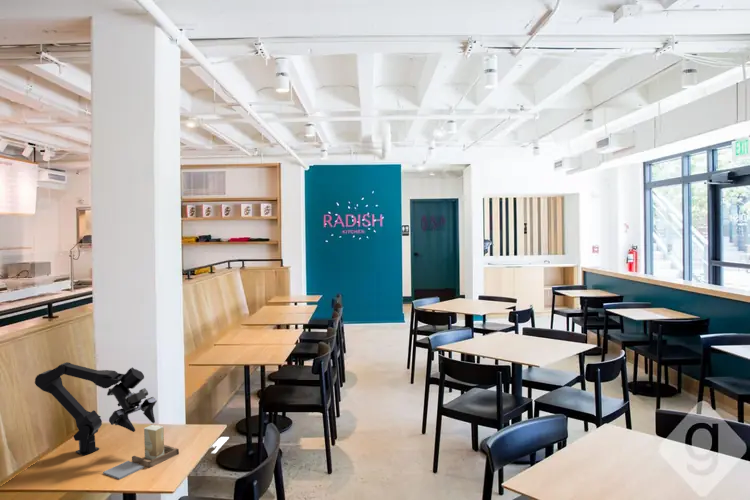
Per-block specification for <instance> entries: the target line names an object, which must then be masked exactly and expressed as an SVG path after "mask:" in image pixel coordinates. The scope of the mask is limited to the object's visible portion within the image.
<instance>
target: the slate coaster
mask: <svg viewBox="0 0 750 500" xmlns="http://www.w3.org/2000/svg"><path fill="white" fill-rule="evenodd" d="M144 468H145V466H143V465H140V464H137V463H134V462H132V461H131V460H126V461H124V462H123V463H122V462H121V463H120V464H117V465H115V466H113V467H110V468H108V469H106V470H104V471H103V472H102V474H103V475H106V476H108V477H111V478H114V479H116V480H121V479H123V478H126V477H128V476H129V475H132V474H134V473H137V472H139V471H140V470H142V469H144Z"/></svg>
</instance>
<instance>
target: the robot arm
mask: <svg viewBox="0 0 750 500" xmlns="http://www.w3.org/2000/svg"><path fill="white" fill-rule="evenodd" d="M63 375H64V376H65V375H66V376H69V377H74V378H77V379H81V380H85V381H89V382H92V383H93V384H94V385H95V386H96V387H99V388H101V389H107V390H108V391H107V393H106V396H107V397H108V396H113V397H114V398H115V399H116V401H117V406H118V407H121V408H119V409H117V410H114V411H113V412H112V414H111V415H110V417H109V419H108V421H109V423H110V425H112V426H113V425H115V426H119V427H122V428H125V429H127V430H128V431H131V432H133V433H134V432H136V428H135V425H133V423H132V422H131V420H130V419H129V418H130V417H129V415H131V414H133V413H135V412H138V411H140V410H141V411H142V413H143V415H144V416H145V417H146V418H147V420H149V421H150V422H151V423H152V424H155V423H156V419H155V415H154V407H155V405H156V403H157V401H158V400H157V399H156V397H154V396H152V397H151V396H150V397H148V398H147V396H148V395H149V392H148V390H147V388H146V387H144V388H141V389H140V390H139V391H138V392H136V393H135V392H132V391H131V390H130V389H135V388H136V387H138V385H139V384H140V383H141V382H142V381H143V380H144V379H145V374H143V371H140V370H138V369H136V368H134V367H129V369H127V372H126V373H120V372H119V373H118V371H116V370H109V369H108V370H107V369H101V370H99V369H95V368H94V369H93V368H89V367H85V366H82V365H78V364H74V363H71V362H68V361H67V362H64V363H61V364H59V365H58V366H57V367H55V368H53V369H48V370H46V371H43V372H41V373H39V374H37V375H36V376H35V379H34V384H35V386H36V387H37V388H39V389H40V390H41V391H42V392H45V393H48V394H51V396H52V397H53V398H54V399H56V401H58V403H59V404H60V405H61V406H62V407H63V409H64V410H65V411H67V412H68V413H69V415H70V416H72V418H73V419H74V420H75V424H76V428H77V430H78V431H77V432H76V433H75V434H74V435H73V439H74V441H76V442H77V441H78V447H79V448H78V449H77V450H75V454H79V455H81V456H86V455H88V454H92V453H94V452H96V451H99V450H100V447H97V446H96V435H95V434H96V433H97V434H98V432H99V429H100V428H101V427H102V425H103V424H102V423H103V421H102V418H101V416H100V415H99V414H98V413H97V411H96V410H92V411H88V410H86V408H84V406H83V405H81V403H80V402H79V401H78V400H77V399H76V398H75V397H74V395H72V394H71V393H70V391H69V390H68V389H67V388H66V387H65V386H64V385H63V384H64V383H63V381H62V377H63ZM61 376H62V377H61ZM143 399H144V401H143ZM142 401H143V402H142Z"/></svg>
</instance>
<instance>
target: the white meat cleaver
mask: <svg viewBox="0 0 750 500" xmlns="http://www.w3.org/2000/svg"><path fill="white" fill-rule="evenodd" d="M229 439H230V437H229V436H221V437H218V439H217V440H216V441H214V443H213V444H212V445H211V446H209V448H210V449H212V448H213V449H214V450H212V451H211V452H210V455H213V454H214V455H215V454H216V453H217V452H218V451H219V450H220V449H221V448H222V446H224V444H225V443H226V442H227V441H228V440H229Z"/></svg>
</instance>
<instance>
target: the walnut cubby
mask: <svg viewBox="0 0 750 500" xmlns="http://www.w3.org/2000/svg"><path fill="white" fill-rule="evenodd" d="M164 452H166V453H164V455H162V456H160V457H158V458H156V459H153V460H151V459H146V458H143V457H139V456H137V455H132V456H131V462H133V463H136V464H139V465H142V466H144V467H147V468H153V467H154V466H156V465H159V464H161V463H162V462H166V461H167V460H169V459H171V458H174V457H175V456H177V455H179V454H180V452H179V448H177V447H174V446H170V445H166V444H164Z"/></svg>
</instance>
